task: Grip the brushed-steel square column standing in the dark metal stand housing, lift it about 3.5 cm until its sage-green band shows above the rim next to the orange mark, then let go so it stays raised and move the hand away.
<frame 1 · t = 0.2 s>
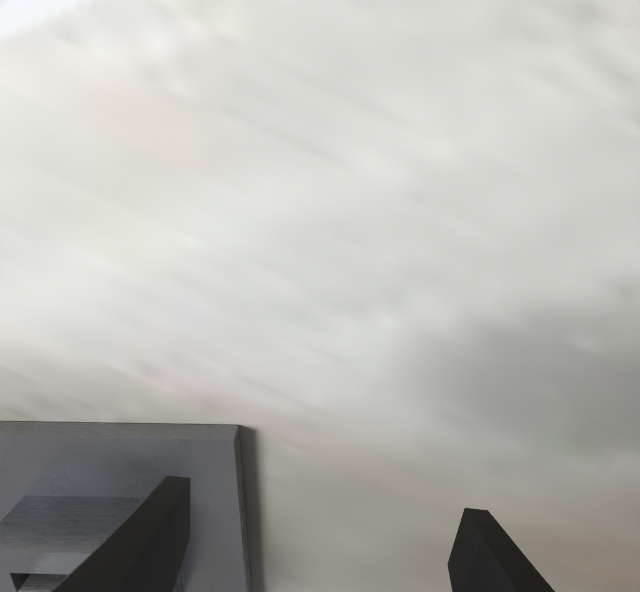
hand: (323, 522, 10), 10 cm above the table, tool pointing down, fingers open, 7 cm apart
stand base: (118, 531, 24), on the table
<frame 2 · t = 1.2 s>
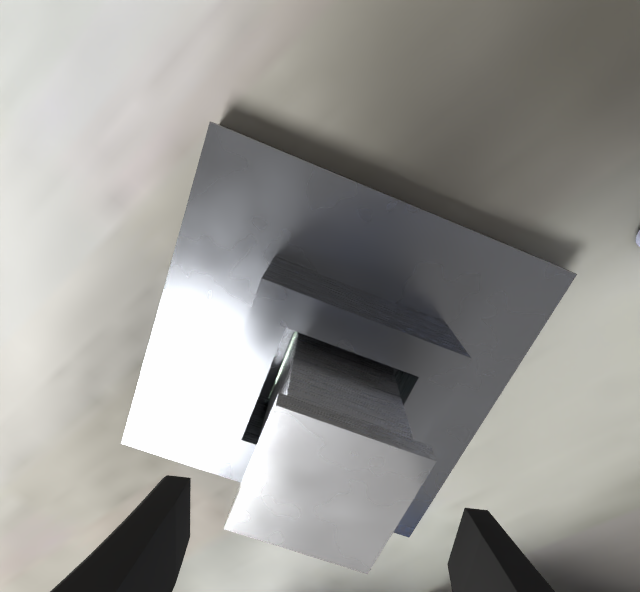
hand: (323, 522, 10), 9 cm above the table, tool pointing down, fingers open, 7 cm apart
steel column: (326, 416, 14), point 5 cm above the table, slide at 0.0 cm
stand base: (327, 354, 19), on the table
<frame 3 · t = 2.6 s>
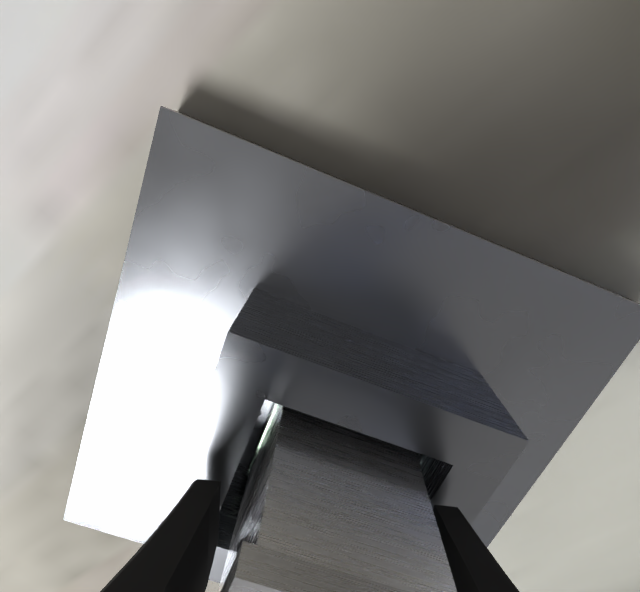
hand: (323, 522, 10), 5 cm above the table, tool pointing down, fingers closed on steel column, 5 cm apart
steel column: (323, 520, 10), point 5 cm above the table, slide at 0.0 cm, touching gripper
stand base: (325, 408, 15), on the table
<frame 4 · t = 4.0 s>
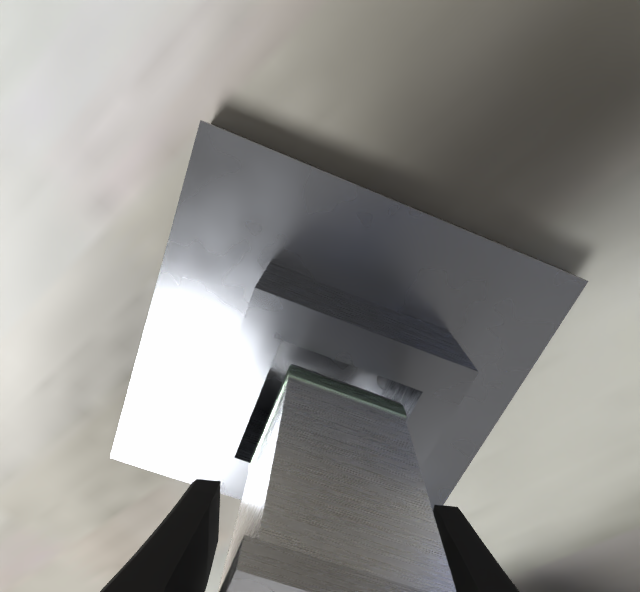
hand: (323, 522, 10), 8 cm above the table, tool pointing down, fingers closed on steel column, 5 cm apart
steel column: (323, 516, 10), point 8 cm above the table, slide at 3.4 cm, touching gripper
stand base: (325, 364, 18), on the table
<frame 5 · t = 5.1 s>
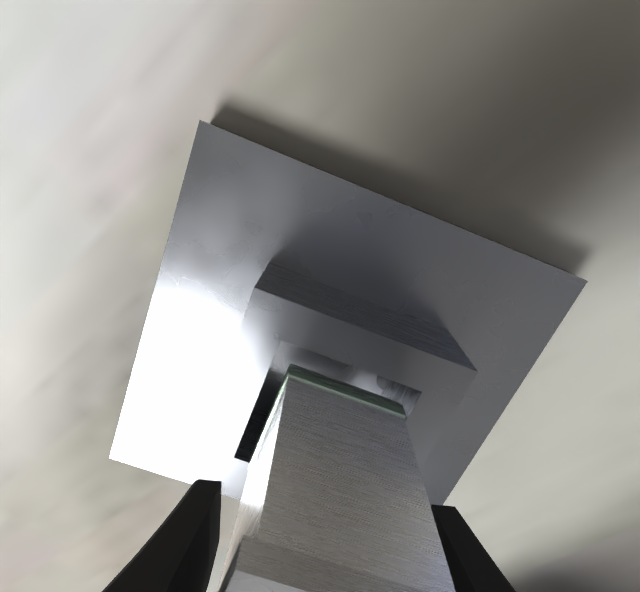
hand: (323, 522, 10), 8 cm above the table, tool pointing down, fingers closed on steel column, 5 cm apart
steel column: (322, 516, 10), point 8 cm above the table, slide at 3.3 cm, touching gripper
stand base: (325, 364, 18), on the table
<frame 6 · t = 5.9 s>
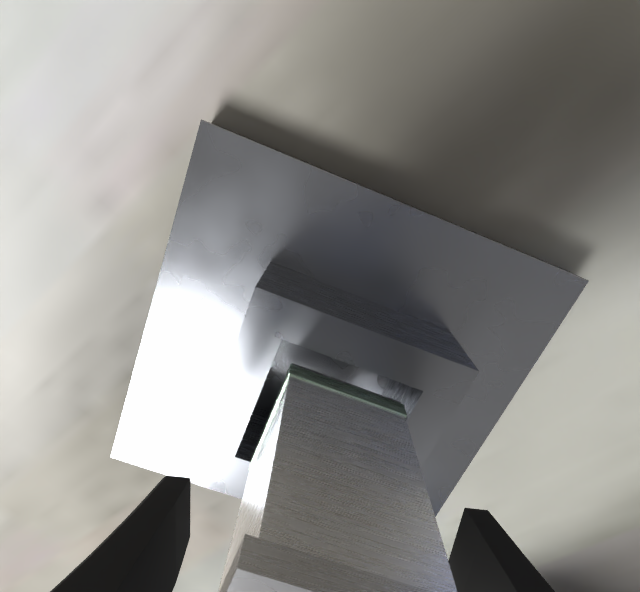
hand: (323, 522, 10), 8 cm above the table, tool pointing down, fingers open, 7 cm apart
steel column: (323, 516, 10), point 8 cm above the table, slide at 3.4 cm
stand base: (326, 364, 18), on the table
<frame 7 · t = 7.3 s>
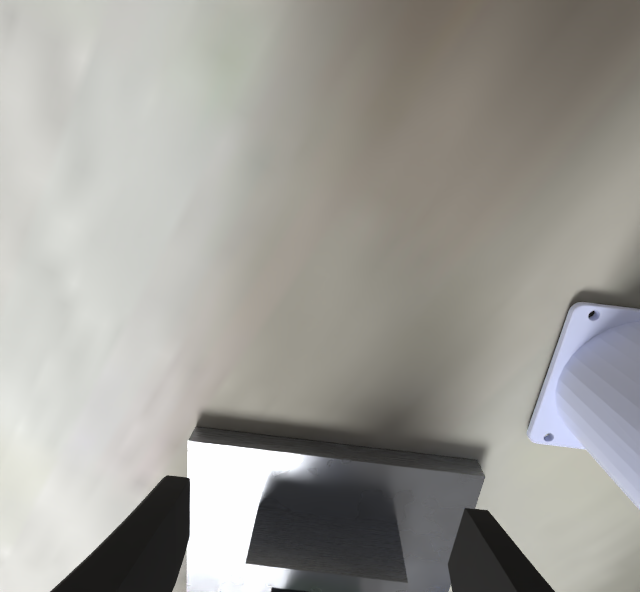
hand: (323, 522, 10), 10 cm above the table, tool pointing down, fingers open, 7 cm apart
stand base: (320, 547, 25), on the table
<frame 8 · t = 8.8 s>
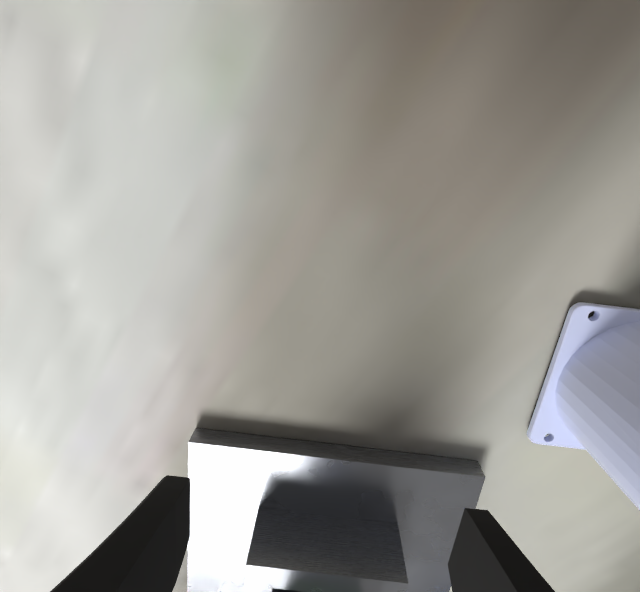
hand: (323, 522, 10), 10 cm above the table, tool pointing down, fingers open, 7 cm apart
stand base: (320, 548, 25), on the table
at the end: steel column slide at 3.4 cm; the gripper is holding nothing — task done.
